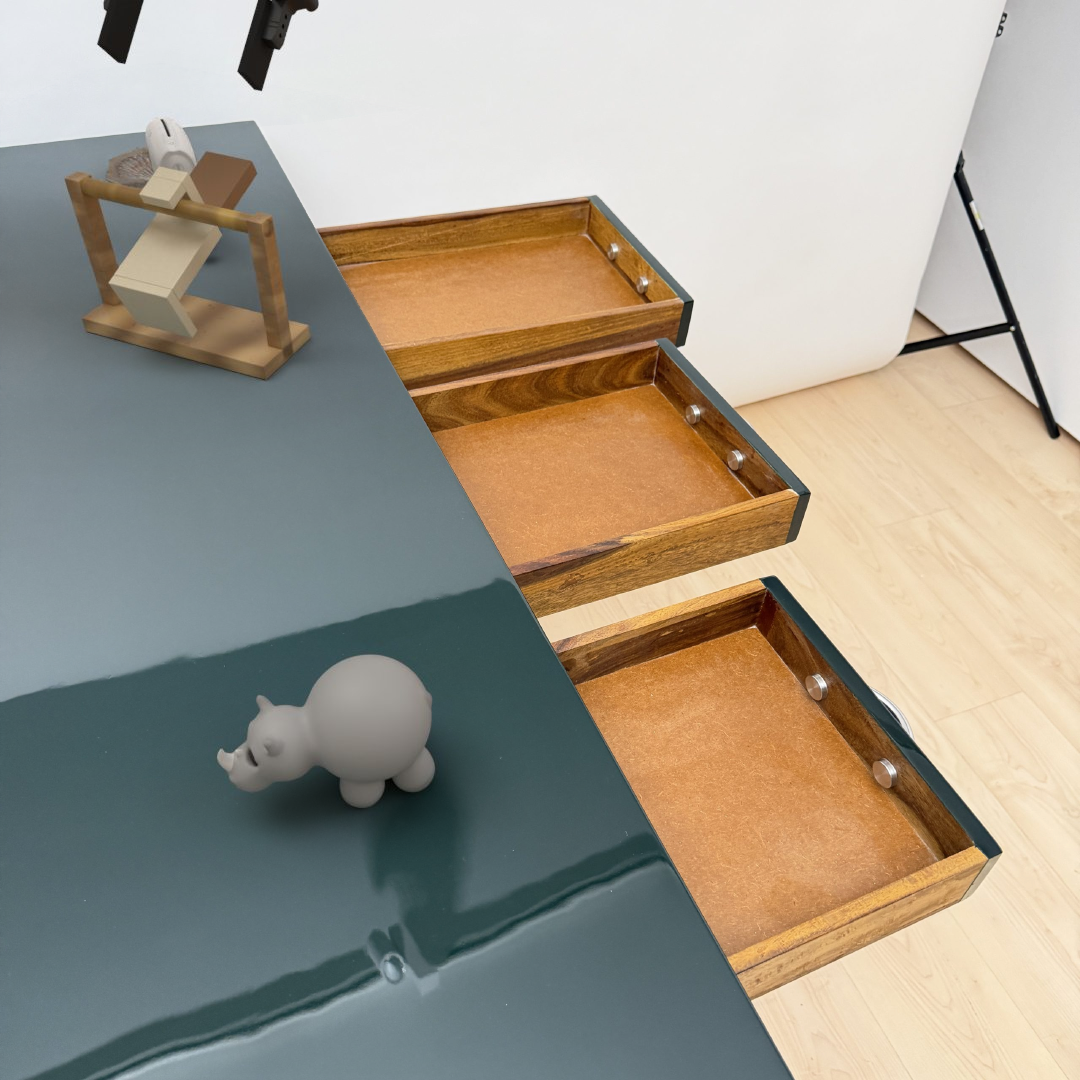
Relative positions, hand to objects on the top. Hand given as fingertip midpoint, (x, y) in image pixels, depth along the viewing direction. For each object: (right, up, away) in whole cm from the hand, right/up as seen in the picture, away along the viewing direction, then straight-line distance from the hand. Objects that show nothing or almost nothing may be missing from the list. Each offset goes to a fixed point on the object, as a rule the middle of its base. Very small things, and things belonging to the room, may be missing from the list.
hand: (179, 68), depth 75 cm
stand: (-3, -20, +12) cm, 23 cm away
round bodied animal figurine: (+18, -54, -21) cm, 61 cm away
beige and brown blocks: (-5, -18, +3) cm, 19 cm away
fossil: (-17, +4, +36) cm, 40 cm away
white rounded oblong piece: (-9, -5, +27) cm, 29 cm away
